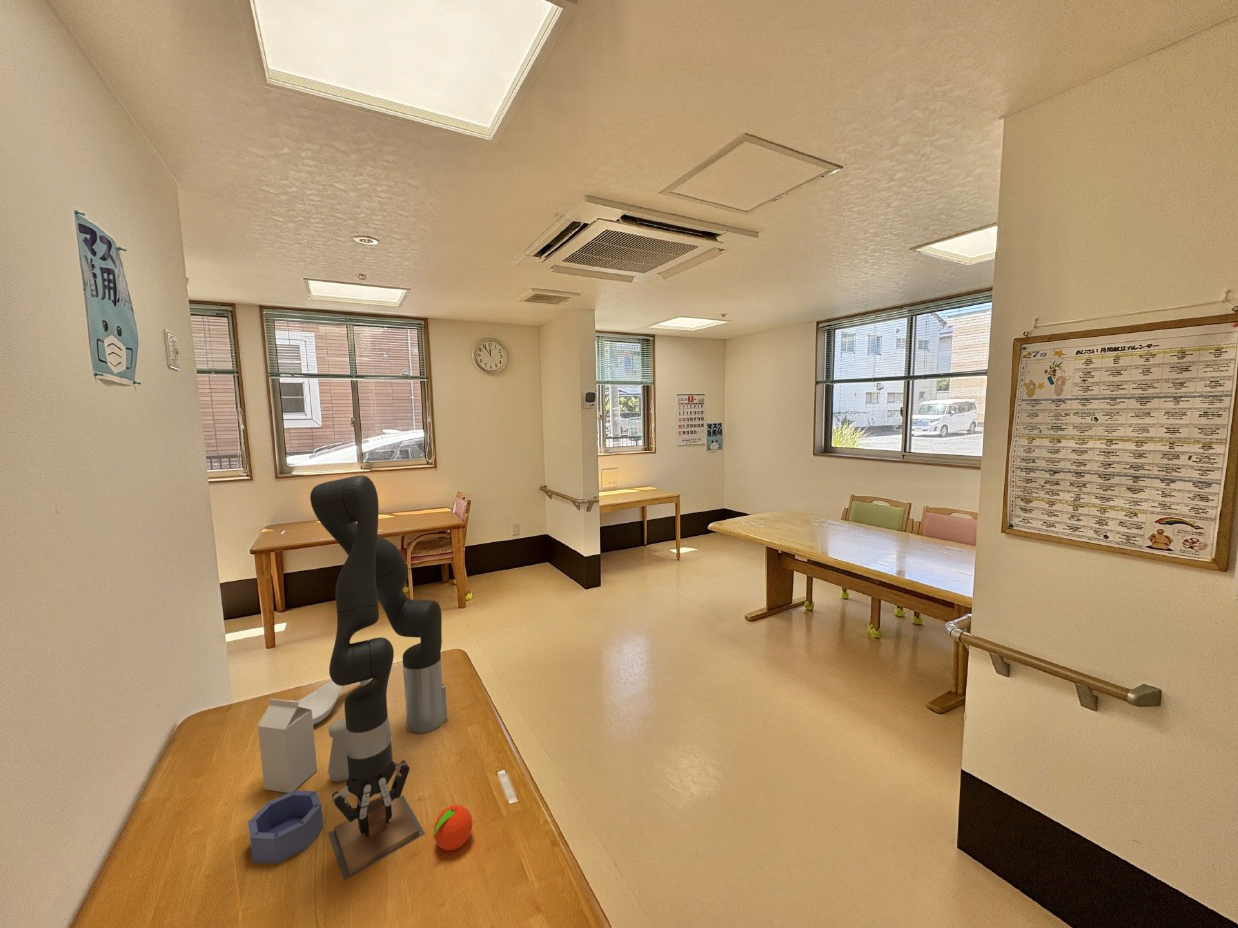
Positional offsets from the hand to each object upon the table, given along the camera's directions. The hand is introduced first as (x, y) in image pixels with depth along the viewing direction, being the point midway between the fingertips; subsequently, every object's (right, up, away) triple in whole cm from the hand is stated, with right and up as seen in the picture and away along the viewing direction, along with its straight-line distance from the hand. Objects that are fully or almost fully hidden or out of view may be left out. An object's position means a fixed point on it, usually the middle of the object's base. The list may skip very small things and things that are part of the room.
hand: (375, 826), depth 95 cm
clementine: (+16, -2, -2) cm, 16 cm away
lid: (0, -2, 0) cm, 2 cm away
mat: (0, -2, 0) cm, 2 cm away
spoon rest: (-34, +1, +43) cm, 55 cm away
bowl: (-17, -3, 0) cm, 17 cm away
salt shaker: (-15, -1, +16) cm, 22 cm away
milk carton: (-27, -1, +15) cm, 31 cm away
